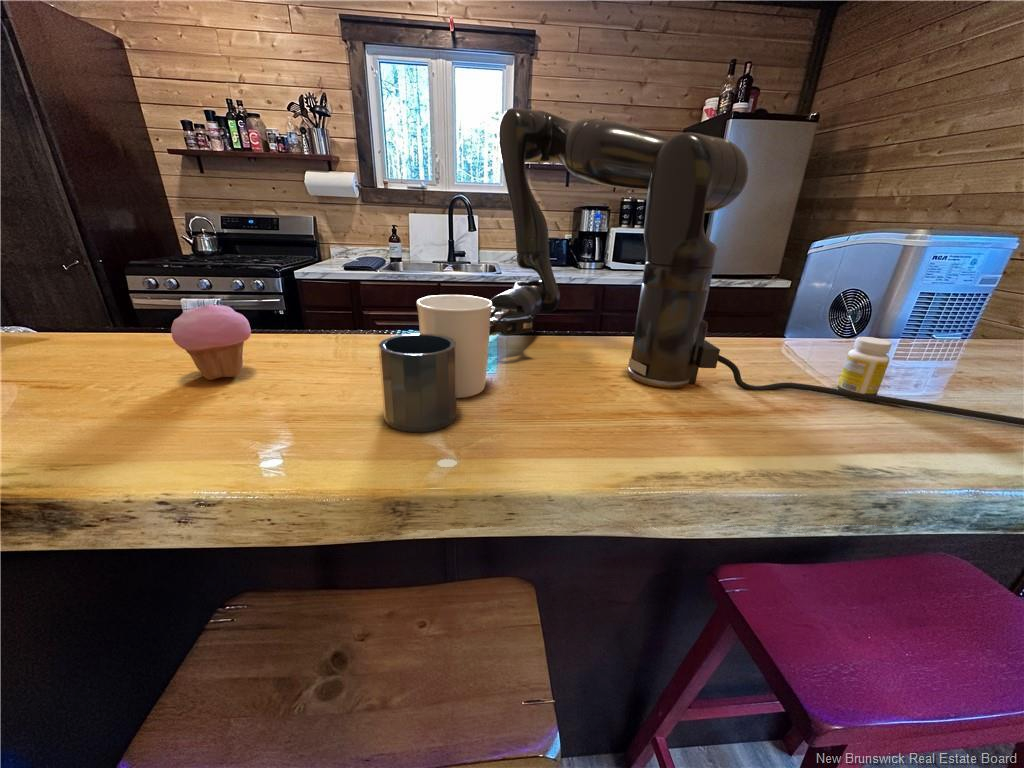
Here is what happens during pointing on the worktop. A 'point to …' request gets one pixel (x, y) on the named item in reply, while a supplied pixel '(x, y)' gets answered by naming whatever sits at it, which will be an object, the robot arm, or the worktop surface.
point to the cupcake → (213, 339)
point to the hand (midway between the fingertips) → (477, 332)
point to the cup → (418, 381)
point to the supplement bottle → (865, 366)
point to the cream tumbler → (461, 334)
